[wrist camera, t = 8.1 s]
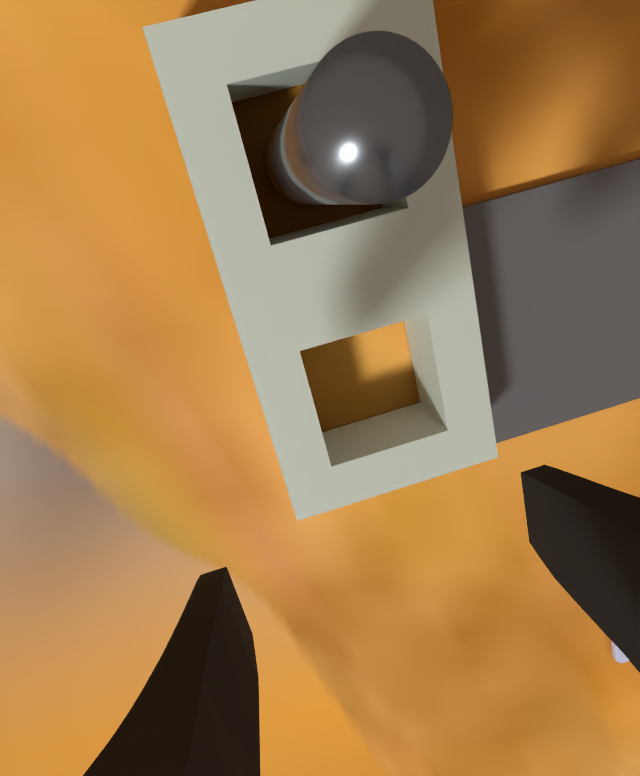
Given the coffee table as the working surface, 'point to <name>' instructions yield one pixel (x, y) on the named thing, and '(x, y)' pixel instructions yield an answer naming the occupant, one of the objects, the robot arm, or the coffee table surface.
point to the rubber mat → (558, 297)
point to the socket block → (329, 256)
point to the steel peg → (363, 125)
